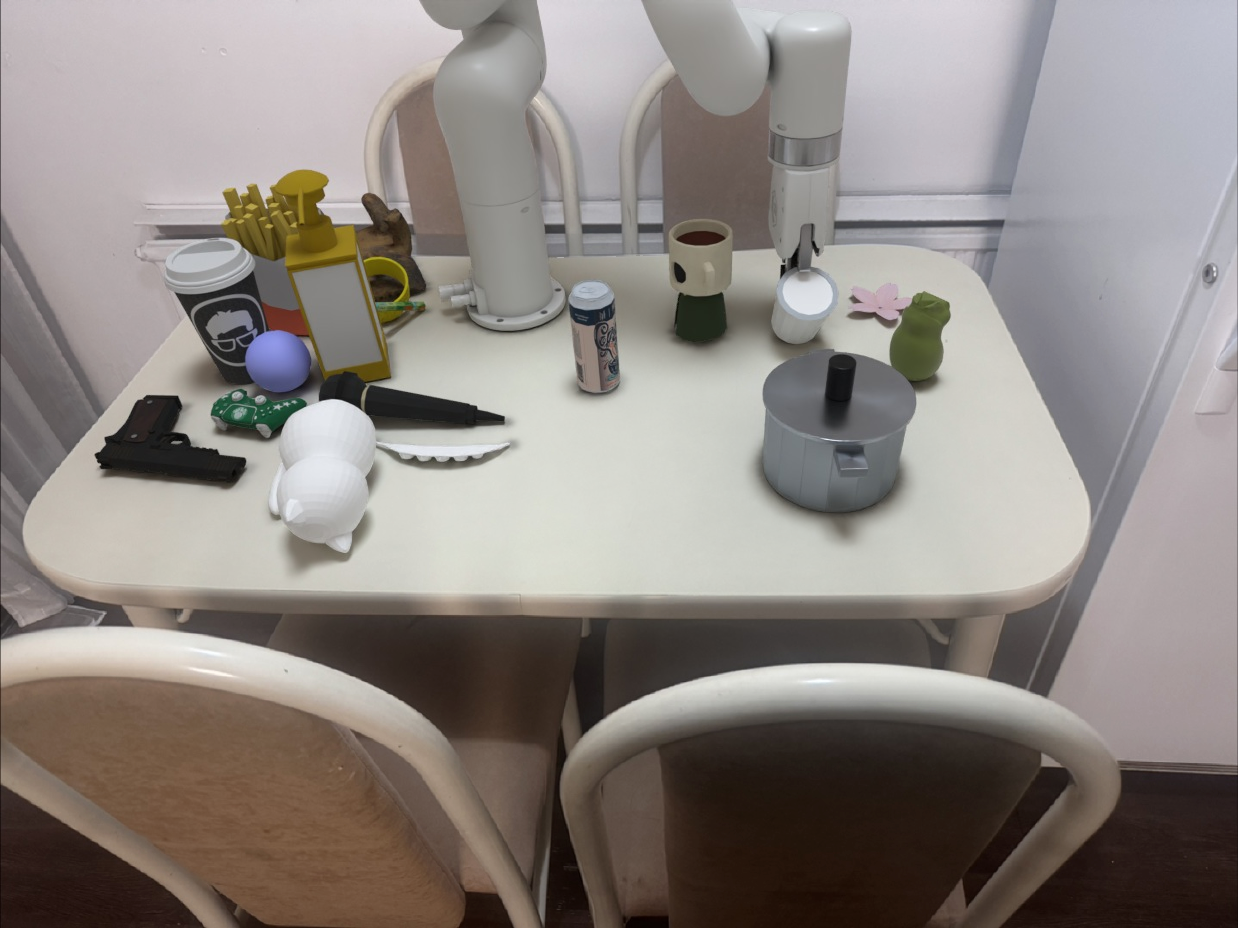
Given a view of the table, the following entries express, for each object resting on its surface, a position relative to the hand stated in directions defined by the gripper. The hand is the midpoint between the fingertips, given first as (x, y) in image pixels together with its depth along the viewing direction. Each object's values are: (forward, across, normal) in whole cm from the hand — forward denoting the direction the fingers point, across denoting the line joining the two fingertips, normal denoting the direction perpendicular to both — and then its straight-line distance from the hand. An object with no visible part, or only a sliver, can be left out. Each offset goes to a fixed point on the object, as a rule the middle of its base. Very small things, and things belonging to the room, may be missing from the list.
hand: (793, 296), depth 103 cm
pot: (+3, +27, -1) cm, 27 cm away
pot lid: (-5, +27, -1) cm, 28 cm away
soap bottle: (+3, +8, -51) cm, 52 cm away
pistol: (+2, +12, -66) cm, 68 cm away
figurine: (+2, -26, -62) cm, 67 cm away
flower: (+3, -1, +11) cm, 11 cm away
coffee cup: (+3, +4, -65) cm, 65 cm away
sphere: (+1, +6, -58) cm, 58 cm away
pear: (+3, +13, +11) cm, 17 cm away
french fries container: (+2, -4, -61) cm, 61 cm away
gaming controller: (0, +12, -60) cm, 61 cm away
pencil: (-7, +7, -53) cm, 54 cm away
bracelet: (-3, -6, -51) cm, 51 cm away
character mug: (+3, +2, -11) cm, 12 cm away
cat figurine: (-2, +22, -50) cm, 55 cm away
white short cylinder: (+2, +3, 0) cm, 4 cm away
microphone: (+2, +17, -33) cm, 38 cm away
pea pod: (+1, +22, -40) cm, 46 cm away
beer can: (+3, +11, -23) cm, 26 cm away
